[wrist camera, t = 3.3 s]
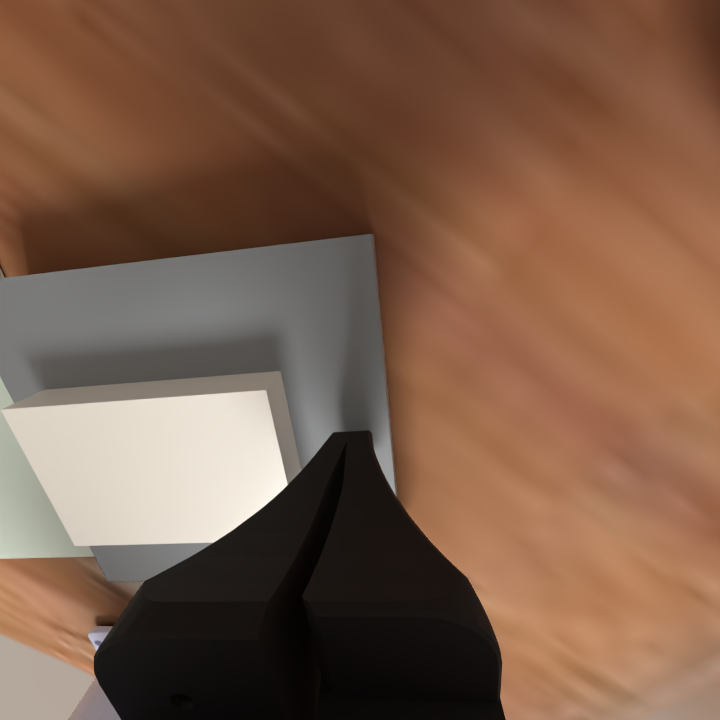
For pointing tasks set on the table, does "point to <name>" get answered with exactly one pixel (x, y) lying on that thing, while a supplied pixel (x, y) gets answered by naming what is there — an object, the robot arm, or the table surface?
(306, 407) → the grey flat square block
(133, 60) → the table surface
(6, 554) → the mat
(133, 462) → the card case
